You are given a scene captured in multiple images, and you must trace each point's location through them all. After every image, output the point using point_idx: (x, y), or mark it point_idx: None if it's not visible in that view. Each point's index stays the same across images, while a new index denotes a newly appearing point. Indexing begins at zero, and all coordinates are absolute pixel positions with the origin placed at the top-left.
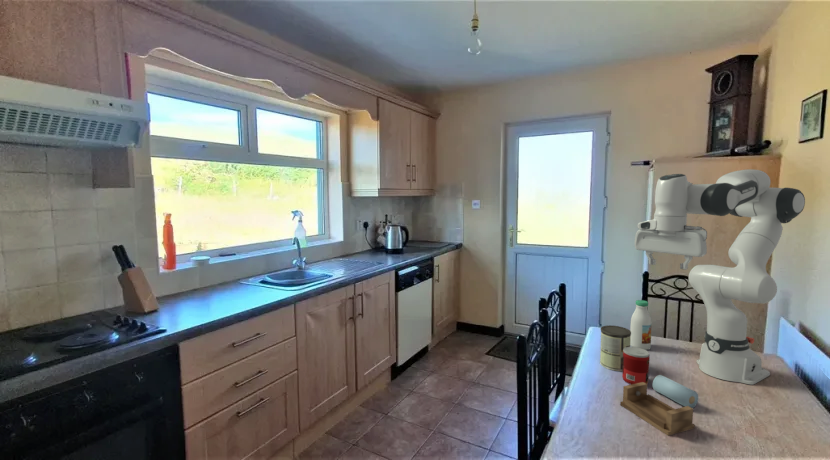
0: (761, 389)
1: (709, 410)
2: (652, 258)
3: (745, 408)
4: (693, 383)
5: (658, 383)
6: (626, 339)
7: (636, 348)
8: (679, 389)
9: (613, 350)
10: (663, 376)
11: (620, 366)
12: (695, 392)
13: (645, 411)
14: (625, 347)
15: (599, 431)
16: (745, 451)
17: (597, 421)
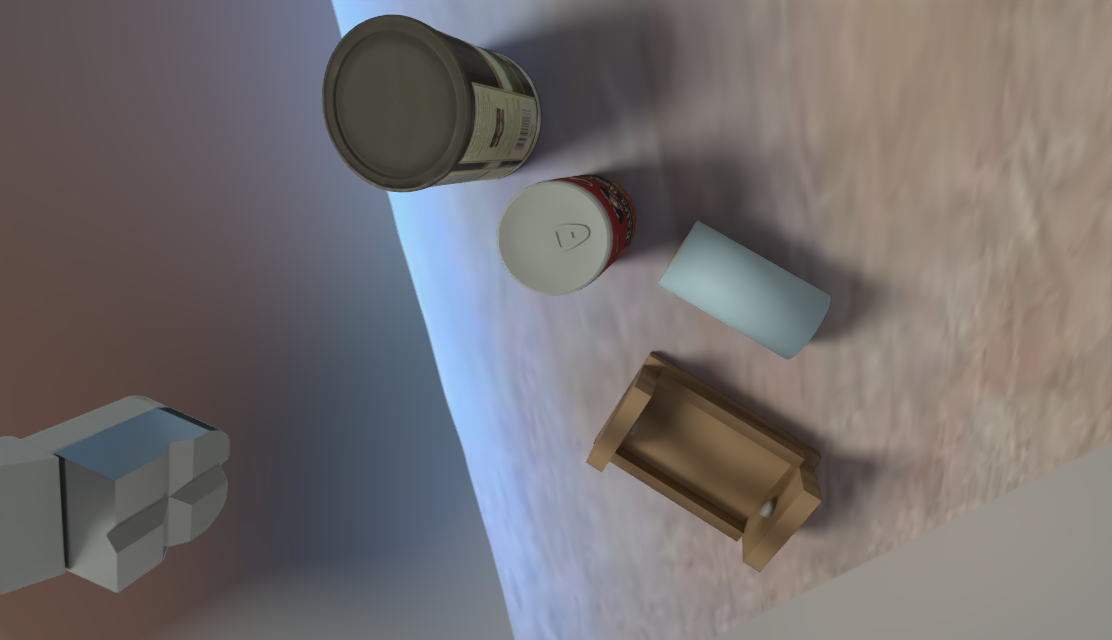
0: None
1: (866, 293)
2: (33, 507)
3: (1009, 176)
4: (800, 61)
5: (680, 296)
6: (473, 146)
7: (541, 193)
8: (762, 334)
9: (454, 183)
10: (691, 260)
11: (511, 166)
12: (822, 319)
13: (676, 499)
14: (489, 150)
15: (592, 601)
16: (965, 503)
17: (572, 560)
